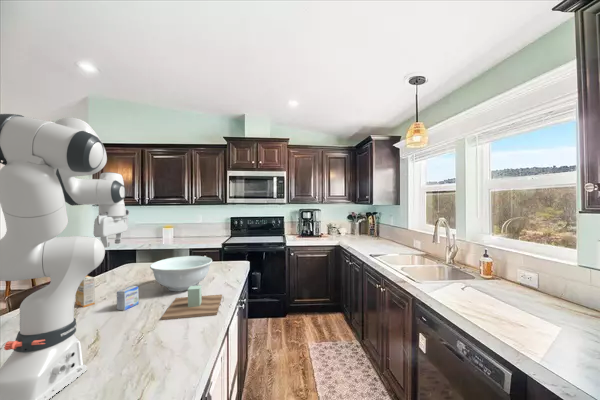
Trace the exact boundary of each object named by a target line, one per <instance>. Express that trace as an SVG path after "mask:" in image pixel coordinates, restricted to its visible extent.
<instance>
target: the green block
mask: <svg viewBox="0 0 600 400" xmlns="http://www.w3.org/2000/svg"><path fill="white" fill-rule="evenodd" d="M202 296H203V295H202V285H198V284H197V286H190V287H189V289H188V290H187V297H188V307H197V306H200V304H201V302H202Z"/></svg>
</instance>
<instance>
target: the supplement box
mask: <svg viewBox="0 0 600 400" xmlns="http://www.w3.org/2000/svg"><path fill="white" fill-rule="evenodd" d="M95 280H96V278H95V277H94V276H90V275H87V276H86V277H85V278H84V279H83V280H82V282H81V283H80V285H79V287H78V289H77V292H76V296H75V305H77V306H80V307H82V308H86V307H89V306H93V305H95V303H96V300H95V299H96V296H95V295H96V294H95V293H96V291H95V287H96V285H95V284H96V283H95V282H96V281H95Z"/></svg>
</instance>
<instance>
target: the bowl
mask: <svg viewBox="0 0 600 400" xmlns="http://www.w3.org/2000/svg"><path fill="white" fill-rule="evenodd" d="M212 262H213V259H212V258H211V257H208V256H203V255H202V256H201V255H186V256H174V257H167V258H165V259H164V258H163V259H161V260H158V261H154V262H153V263H151V264H150V265H149V269H150V270H152V274H153V277H154V279H155V281H156V282H157V283H158V284H160V285H161V286H162V287H166V288H167V290H168V291H169V292H170V291H171V292H184V291H188V289H189V287H190V286H198V284H199V283H201V282H202V281H203V280H204V279H206V277H207V275H208V273H209V270H210V265H211V264H212Z"/></svg>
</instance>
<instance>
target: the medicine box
mask: <svg viewBox="0 0 600 400" xmlns="http://www.w3.org/2000/svg"><path fill="white" fill-rule="evenodd" d="M139 298H140V297H139V286H138V285H131V286H128V287H125V288H122V289H120V290H117V291H116V310H117V311H124V312H125V311H128V310H129V309H131V308H133V307H135V306H138V305H139V301H140V300H139Z"/></svg>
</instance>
